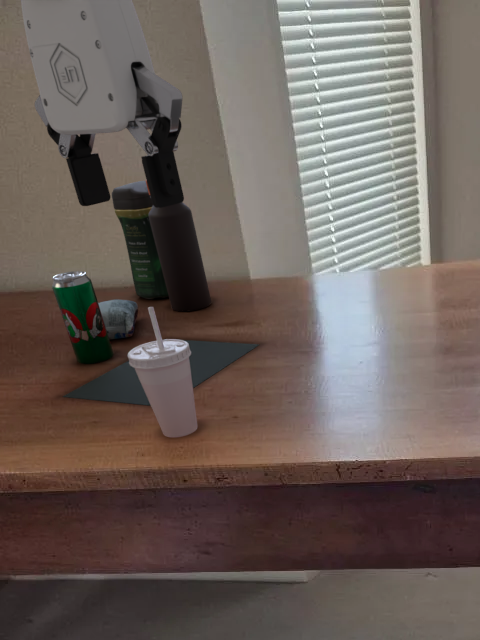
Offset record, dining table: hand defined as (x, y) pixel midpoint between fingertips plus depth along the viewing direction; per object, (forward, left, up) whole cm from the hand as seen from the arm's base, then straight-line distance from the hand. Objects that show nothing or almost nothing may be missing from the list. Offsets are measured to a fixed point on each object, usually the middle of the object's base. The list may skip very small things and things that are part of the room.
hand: (131, 204), depth 66 cm
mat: (-17, +17, -24) cm, 34 cm away
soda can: (-31, +19, -24) cm, 43 cm away
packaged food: (-37, +29, -24) cm, 53 cm away
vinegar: (-33, +45, -24) cm, 61 cm away
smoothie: (-3, +1, -24) cm, 24 cm away
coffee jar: (-44, +52, -24) cm, 72 cm away
